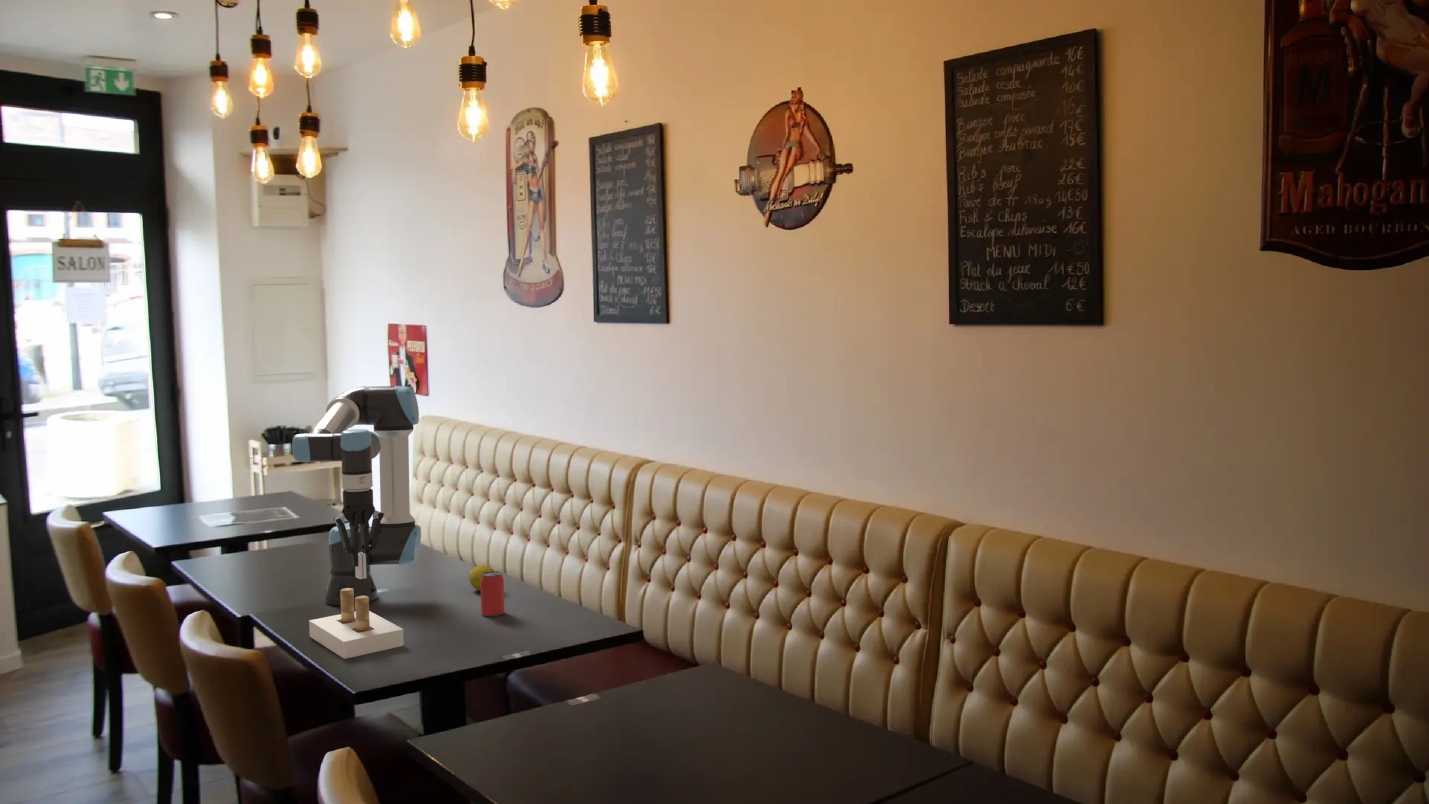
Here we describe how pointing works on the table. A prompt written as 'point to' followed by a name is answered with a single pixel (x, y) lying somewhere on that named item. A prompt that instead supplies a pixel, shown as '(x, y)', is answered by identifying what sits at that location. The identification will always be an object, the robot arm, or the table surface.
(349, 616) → the seated peg
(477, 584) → the lemon
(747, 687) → the table surface
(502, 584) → the beer can
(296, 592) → the table surface
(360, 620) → the honey-oak peg
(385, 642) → the off-white board
